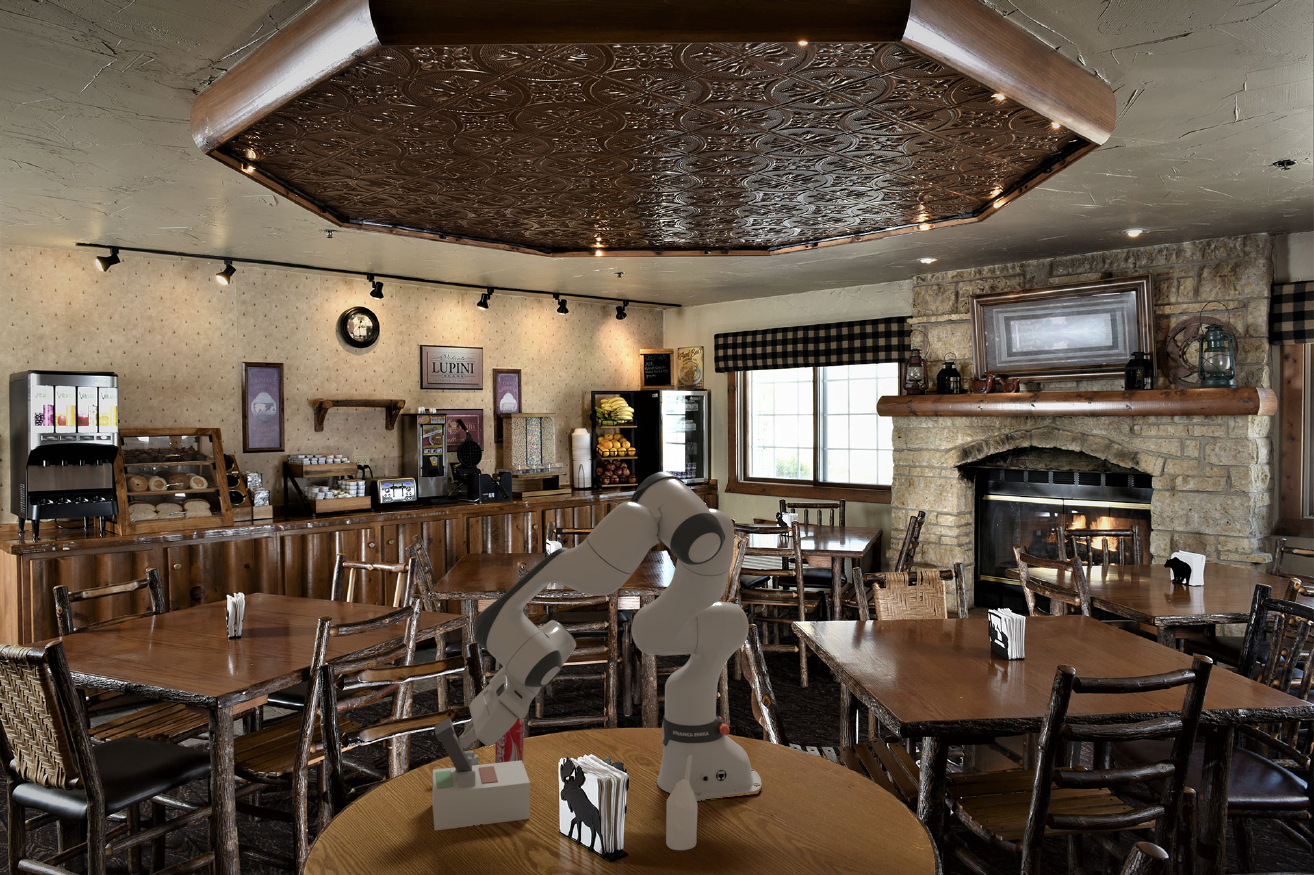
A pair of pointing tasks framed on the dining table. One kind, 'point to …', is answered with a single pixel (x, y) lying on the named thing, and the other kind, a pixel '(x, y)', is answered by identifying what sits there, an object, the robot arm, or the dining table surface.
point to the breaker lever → (452, 745)
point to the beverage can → (511, 744)
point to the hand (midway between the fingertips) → (461, 744)
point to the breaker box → (480, 795)
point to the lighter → (474, 757)
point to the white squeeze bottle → (681, 817)
